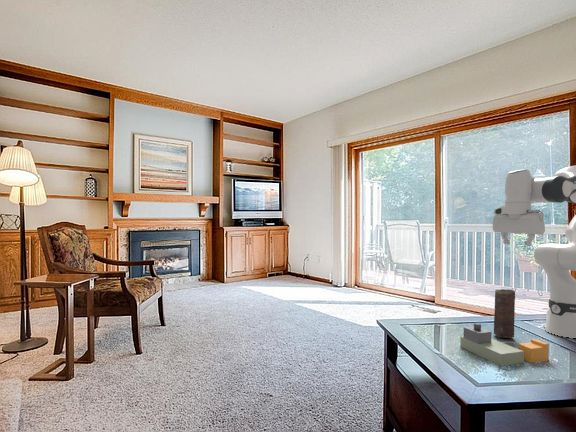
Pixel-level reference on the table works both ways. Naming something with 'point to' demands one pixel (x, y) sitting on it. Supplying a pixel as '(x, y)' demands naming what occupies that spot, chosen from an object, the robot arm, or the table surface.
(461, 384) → the table surface
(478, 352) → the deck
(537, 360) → the orange lidded box
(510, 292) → the candle
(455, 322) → the table surface
